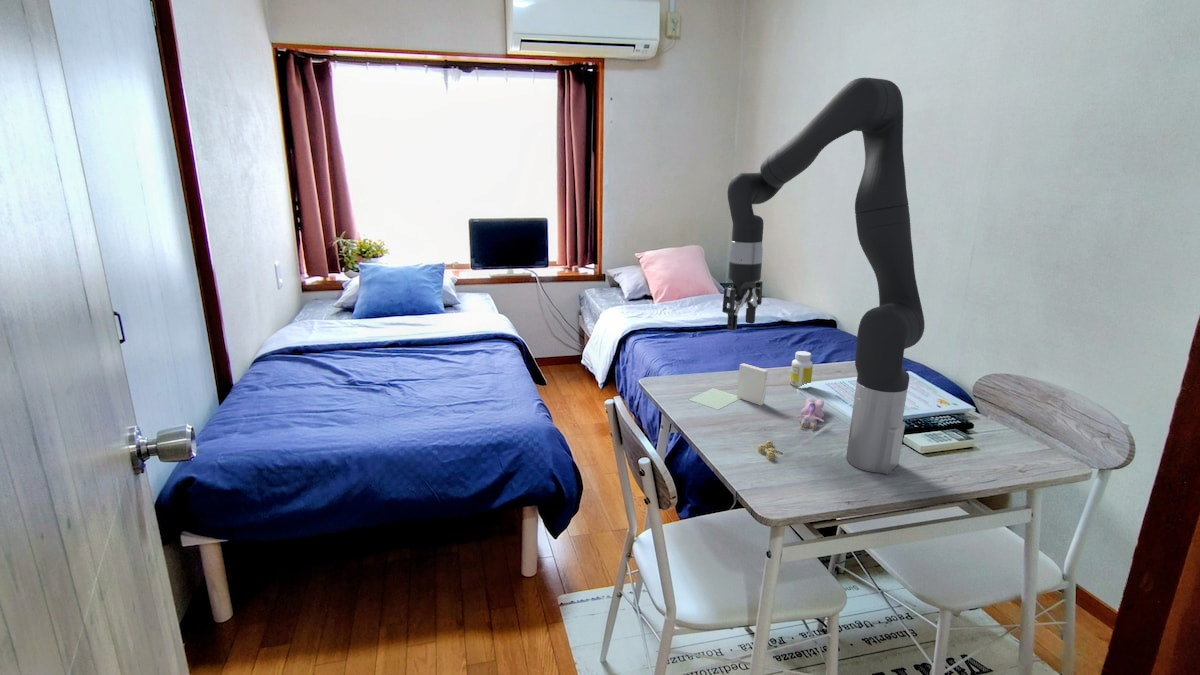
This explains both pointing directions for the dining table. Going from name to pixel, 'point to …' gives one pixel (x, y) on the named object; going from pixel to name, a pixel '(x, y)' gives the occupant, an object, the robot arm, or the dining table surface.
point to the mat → (715, 398)
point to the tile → (752, 383)
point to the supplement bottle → (801, 369)
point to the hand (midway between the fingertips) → (741, 326)
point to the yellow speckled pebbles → (770, 450)
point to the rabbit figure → (812, 413)
